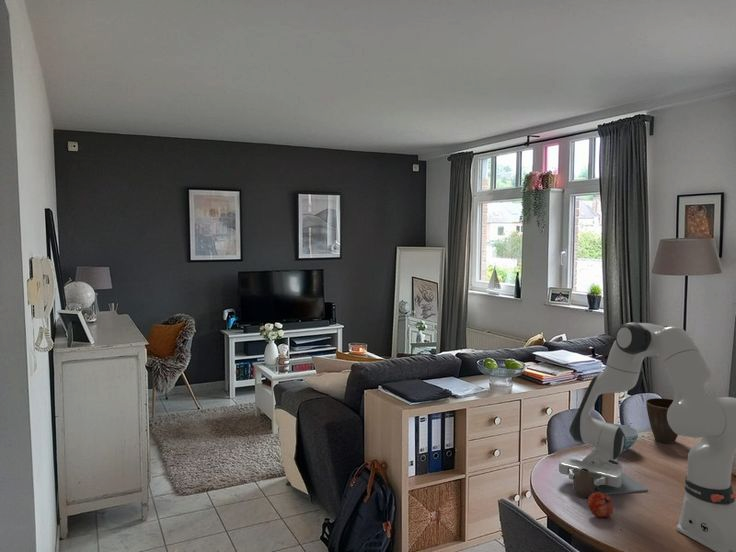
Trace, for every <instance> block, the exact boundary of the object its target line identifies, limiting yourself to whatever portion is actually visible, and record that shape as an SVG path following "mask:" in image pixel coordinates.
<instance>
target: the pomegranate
mask: <svg viewBox="0 0 736 552" xmlns="http://www.w3.org/2000/svg"><path fill="white" fill-rule="evenodd" d="M587 506H588V509H589V510H590V512H591V515H594V516H595V517H597V518H604V517H605V518H606V517H607V518H609V517H610V516H611V515H612V514H613V512H614V511H615V510H614V504H613V502H612V498H611V497H610V495H606V494H603V493H602V492H600V491H596V492H595V491H594V493H592V494H591V495H590V497H589V498H587Z"/></svg>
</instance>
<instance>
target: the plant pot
mask: <svg viewBox="0 0 736 552" xmlns="http://www.w3.org/2000/svg"><path fill="white" fill-rule="evenodd" d="M673 400H674V399H670V398H661V397H660V398H659V397H657V398H655V397H654V398H648V399H647V400H645V403H646V412H647V416H648V417H647V418H648V423H649V425H650V428H651V429H650V430H651V432H652V435H653V438H654V440H655V441H657V442H659V443H662V444H673V443H675V442H676V441H677V438H678V436H679V435H678V434H676V433H675V432H674V431H673V430H672V429H671V427H670V426H669V424H668V421H667V411H668V409H669V407H670V405H671V404H672V402H673Z"/></svg>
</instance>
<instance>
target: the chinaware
mask: <svg viewBox="0 0 736 552" xmlns="http://www.w3.org/2000/svg"><path fill="white" fill-rule="evenodd" d="M611 424H612V425H615V426H618V427H620V428H621V429H622V431H623V433H624V435H625V446H624V449H623V452H625V451H627V449H629V448H631V447H632V446H633V445H634V444H635V443H636V441H637V440H638V437H639V431H638V429H636V428H633V427H632V426H629V425H624V424H619V423H618V424H617V423H611Z"/></svg>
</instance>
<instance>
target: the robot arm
mask: <svg viewBox="0 0 736 552" xmlns="http://www.w3.org/2000/svg"><path fill="white" fill-rule="evenodd" d="M647 357H648V358H660V360H661V361H662V365H663V367H664V369H665V370H666V372H667V375H668V378H669V380H670V382H671V384H672V385H671V386H672V388H673V399H672V400H673V402H672V404H671V405H670V407H669V409H668V411H667V421H668V424H669V426H670V427H671V429H672V430H673V431H674V432H675V433H676V434H678V436H682V437H686V438H694V439H697V438H699V439H700V438H701V439H700V440H699V442H698V443H697V444H695V445H694V446H693V447H692V448H691V449H690V450H689V451H688V455H687V469H686V470H687V471H686V473H687V474H686V476H685V477H684V479H685V480H684V491H685V494H684V497H683V501H682V504H681V508H680V509H681V511H680V516H679V518H678V523H677V525H676V531H677V532H680V533H681V534H683V535H685V536H687V537H688V538H691V539H692V540H694V541H696V542H697V543H699V544H700V545H703V546H704V547H707V548H708V549H710V550H712V551H714V552H736V493H734V489H733V486H732V483H731V481H732V468H733V461H734V458H735V455H736V397H731V396H722V397H721V396H719V397H710V396H708V394H707V393H706V387H707V386H709V383H710V382H711V379H712V371H711V370H710V368H709V366H708V364H707V362H706V361H705V359H704V357H703V355H702V354H701V352H700V349H699V348H698V346H697V345H696V343H695V342H694V341H693V339H692V338H691V337H690V335H689V334H688V332H687V331H686V330H684V329H683V328H682V327H679V326H676V325H674V326H673V325H672V326H667V325H660V324H655V323H649V322H634V321H632V322H627V323H625V322H624V323H622V324H621V325H620V326H619V327H618V328H617V330H616V334H615V340H614V342H613V344H612V346H611V348H610V350H609V354H608V357H607V361H606V365H605V367H604V369H603V371H601V372H600V374H599V373H598V374H596V375H594V376H593V378H592V379H591V380H590V382H589V384H588V387H587V389H586V391H585V393H584V395H583V398H582V400H581V402H580V404H579V407H578V409H577V412H576V414H575V416H574V418H573V419H572V421H571V422H570V425H569V434H570V436H571V437H572V439H573V441H575V442H578V443H581V444H586V445H588V446H591V447H593V449H592V450H591V451H590V452H589V453H588V454H587V455H586V456H585V457H584V458H583V459H582V460H579V459H575V458H565V459H563V460H561V461H560V462H559V463H558V472H559V473H560V474H561V475H565V476H568V479H569V480H574V477H575V476H576V474H577V473H578V472H579V471H580V470H581V469H582V468H585V469H588V470H589V473H590V474H591V475H592V477H593V478H594V485H595V486H599V485H603V484H604V485H608V486H612V487H620V486H621V484H622V472H623V464H621V463H620V462H618V459H619V457H621V455H622V454H623V452H624V451H623V449H624V446H625V435H624V433H623V431H622V429H621V428H620V427H618V426H615V425H612V424H613V423H609V422H606V421H603V420H601V419H596V418H594V417H592V415H591V413H592V410H593V407H594V406H595V404H596V402H597V399H598V398H599V396H600V395H602V394H603V395H604V394H617V393H618V394H619V393H625V392H629V391H630V390H632V389H633V388H635V387H636V385H637V382H638V380H639V377H640V374H641V370H642V364H643V361H644V359H645V358H647Z"/></svg>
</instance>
